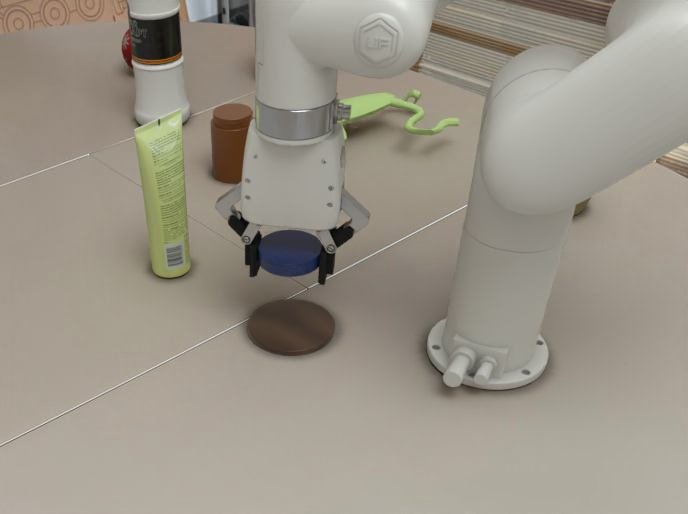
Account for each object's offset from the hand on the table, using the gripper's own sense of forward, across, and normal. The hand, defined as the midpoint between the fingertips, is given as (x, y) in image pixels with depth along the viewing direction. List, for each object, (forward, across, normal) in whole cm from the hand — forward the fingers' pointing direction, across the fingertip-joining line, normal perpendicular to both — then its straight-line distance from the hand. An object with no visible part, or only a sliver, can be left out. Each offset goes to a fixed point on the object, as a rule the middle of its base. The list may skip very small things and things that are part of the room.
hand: (289, 273), depth 90 cm
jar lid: (-3, 0, 0) cm, 3 cm away
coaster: (+7, 0, 0) cm, 7 cm away
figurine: (+8, -3, -51) cm, 52 cm away
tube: (+8, +17, -10) cm, 21 cm away
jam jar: (+8, +15, -36) cm, 40 cm away
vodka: (+8, +31, -53) cm, 62 cm away
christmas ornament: (+8, +40, -73) cm, 84 cm away
